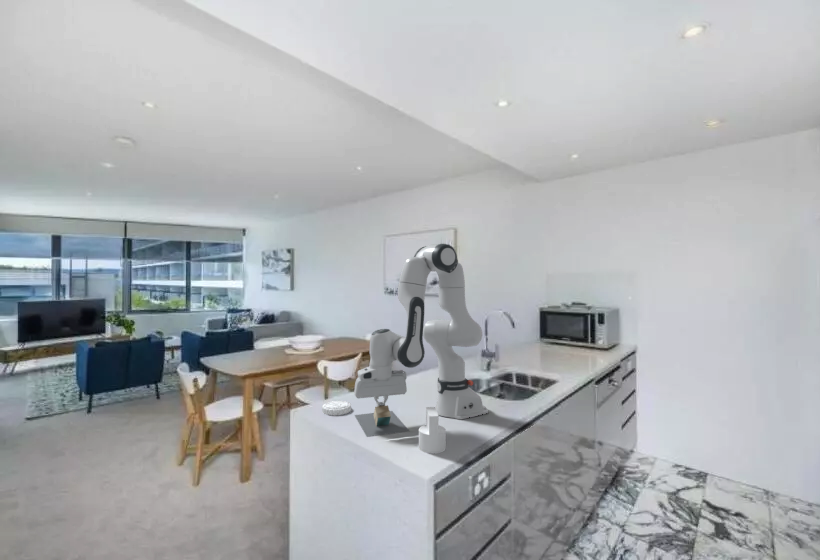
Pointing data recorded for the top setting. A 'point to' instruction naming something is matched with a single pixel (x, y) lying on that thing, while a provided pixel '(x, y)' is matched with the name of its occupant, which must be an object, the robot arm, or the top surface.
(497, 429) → the top surface
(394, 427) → the rubber mat
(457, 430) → the top surface
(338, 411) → the white mooncake
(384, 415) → the maple block
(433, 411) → the white cylinder with post
